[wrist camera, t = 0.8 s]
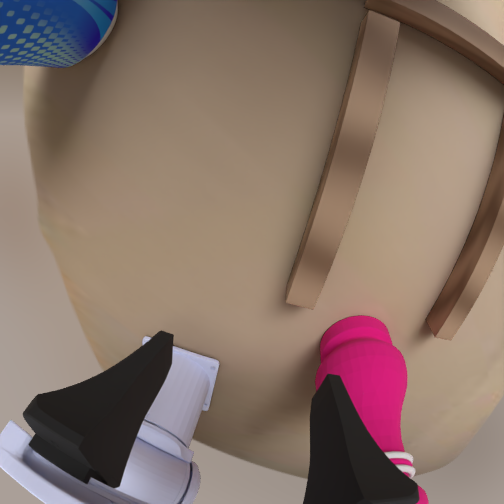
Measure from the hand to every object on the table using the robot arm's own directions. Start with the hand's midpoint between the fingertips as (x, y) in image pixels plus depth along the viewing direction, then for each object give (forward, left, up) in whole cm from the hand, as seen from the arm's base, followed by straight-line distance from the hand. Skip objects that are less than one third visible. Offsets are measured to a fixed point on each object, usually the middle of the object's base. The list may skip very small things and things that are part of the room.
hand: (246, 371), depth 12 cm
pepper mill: (-5, -9, -10) cm, 15 cm away
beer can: (+17, +20, -10) cm, 28 cm away
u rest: (+10, -9, -10) cm, 17 cm away
